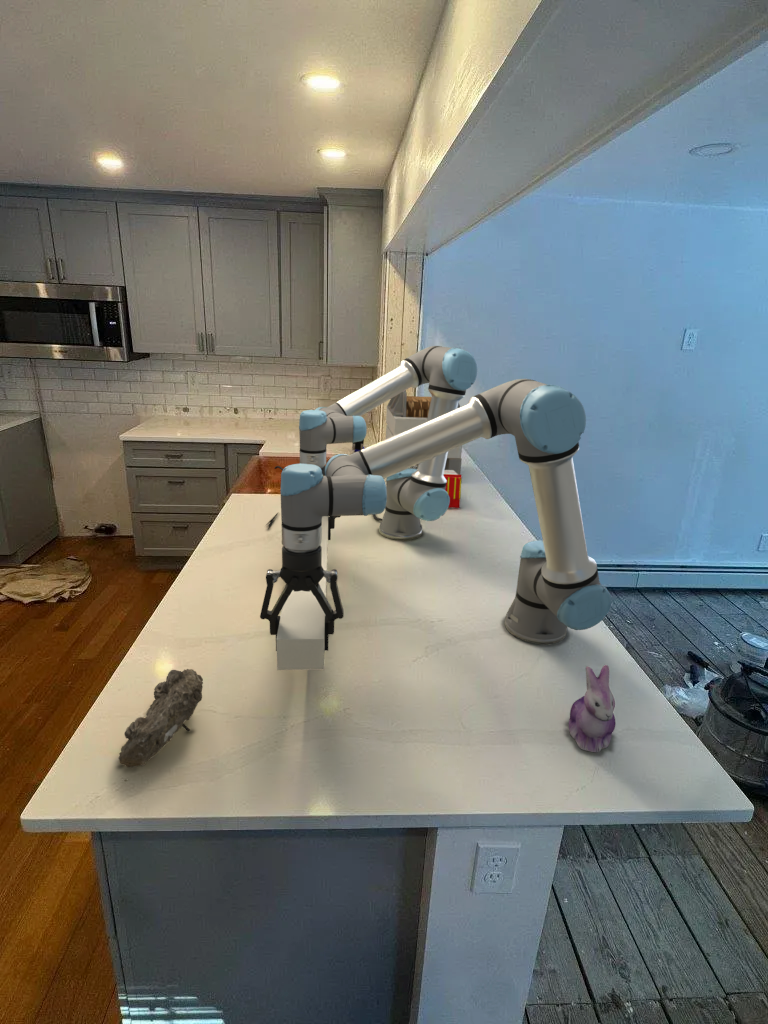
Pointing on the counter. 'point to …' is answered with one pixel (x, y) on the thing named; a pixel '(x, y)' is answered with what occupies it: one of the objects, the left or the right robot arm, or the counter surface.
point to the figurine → (594, 713)
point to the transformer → (415, 422)
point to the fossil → (162, 717)
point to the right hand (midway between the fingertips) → (302, 647)
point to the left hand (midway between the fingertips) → (313, 538)
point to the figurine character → (358, 446)
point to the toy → (453, 487)
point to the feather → (271, 521)
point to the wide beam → (303, 624)
